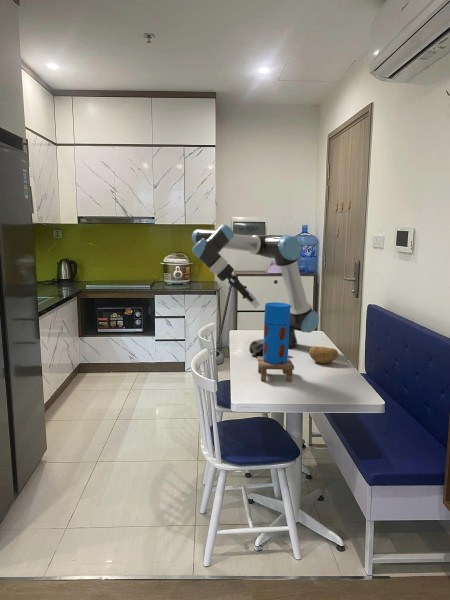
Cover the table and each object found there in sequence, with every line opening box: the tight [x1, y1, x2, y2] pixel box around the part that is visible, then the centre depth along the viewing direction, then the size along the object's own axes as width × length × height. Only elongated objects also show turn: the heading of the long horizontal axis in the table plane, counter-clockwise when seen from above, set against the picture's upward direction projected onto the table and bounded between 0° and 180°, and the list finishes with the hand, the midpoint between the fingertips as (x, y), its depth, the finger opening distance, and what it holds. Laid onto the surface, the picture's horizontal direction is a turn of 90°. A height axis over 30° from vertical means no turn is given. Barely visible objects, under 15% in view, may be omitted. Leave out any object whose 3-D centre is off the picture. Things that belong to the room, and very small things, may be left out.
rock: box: [248, 338, 264, 358], centre depth 221 cm, size 18×11×8 cm, turn 121°
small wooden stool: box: [256, 356, 295, 383], centre depth 189 cm, size 14×14×7 cm
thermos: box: [263, 301, 290, 365], centre depth 187 cm, size 11×11×25 cm
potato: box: [308, 345, 339, 365], centre depth 211 cm, size 10×14×8 cm
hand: (256, 303), depth 191 cm, fingers open, 13 cm apart
